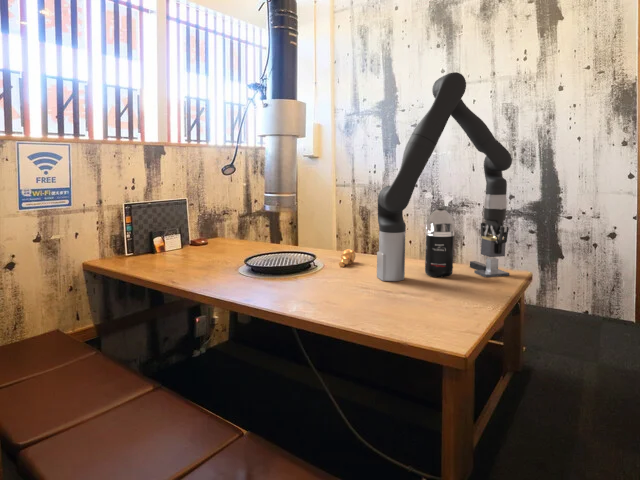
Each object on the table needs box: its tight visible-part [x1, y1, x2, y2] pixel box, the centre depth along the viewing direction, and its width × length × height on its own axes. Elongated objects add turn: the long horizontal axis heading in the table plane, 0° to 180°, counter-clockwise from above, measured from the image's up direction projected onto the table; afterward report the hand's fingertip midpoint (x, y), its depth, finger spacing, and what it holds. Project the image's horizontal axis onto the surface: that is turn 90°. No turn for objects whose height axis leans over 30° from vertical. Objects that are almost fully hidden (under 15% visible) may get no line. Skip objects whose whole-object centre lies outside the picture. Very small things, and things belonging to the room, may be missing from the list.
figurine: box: [338, 248, 357, 268], centre depth 185 cm, size 8×6×12 cm
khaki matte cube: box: [480, 236, 507, 258], centre depth 164 cm, size 6×6×7 cm
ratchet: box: [469, 257, 510, 278], centre depth 170 cm, size 10×16×6 cm, turn 12°
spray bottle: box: [424, 207, 456, 278], centre depth 164 cm, size 10×10×25 cm
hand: (492, 252), depth 165 cm, fingers closed on khaki matte cube, 6 cm apart
